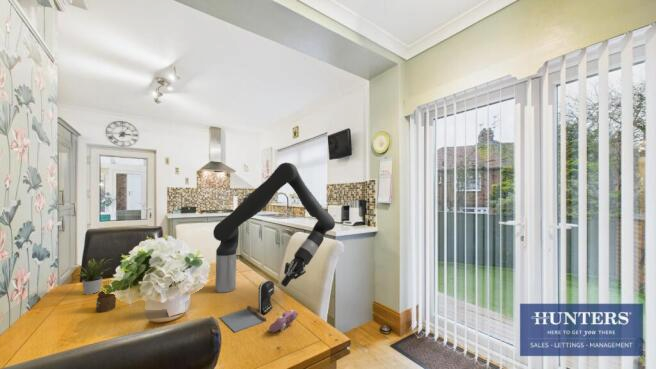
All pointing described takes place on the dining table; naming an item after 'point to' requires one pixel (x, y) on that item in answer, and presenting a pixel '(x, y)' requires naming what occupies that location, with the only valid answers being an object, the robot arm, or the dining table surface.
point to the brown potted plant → (105, 301)
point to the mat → (241, 320)
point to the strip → (256, 313)
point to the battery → (265, 296)
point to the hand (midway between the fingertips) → (283, 285)
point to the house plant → (92, 277)
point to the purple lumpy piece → (283, 321)
